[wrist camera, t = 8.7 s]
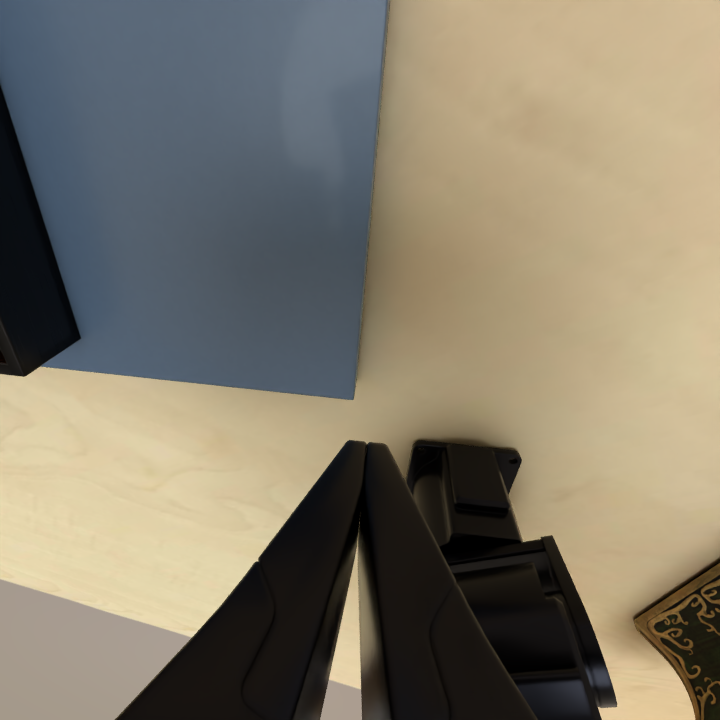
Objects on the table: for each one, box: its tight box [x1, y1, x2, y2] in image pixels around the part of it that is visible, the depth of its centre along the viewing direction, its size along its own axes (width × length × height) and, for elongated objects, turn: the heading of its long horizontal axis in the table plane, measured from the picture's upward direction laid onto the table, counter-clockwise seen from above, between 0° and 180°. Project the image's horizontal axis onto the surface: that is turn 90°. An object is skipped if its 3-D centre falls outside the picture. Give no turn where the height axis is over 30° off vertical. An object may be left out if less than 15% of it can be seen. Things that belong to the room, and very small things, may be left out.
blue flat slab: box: [0, 0, 390, 400], centre depth 17 cm, size 18×24×2 cm
